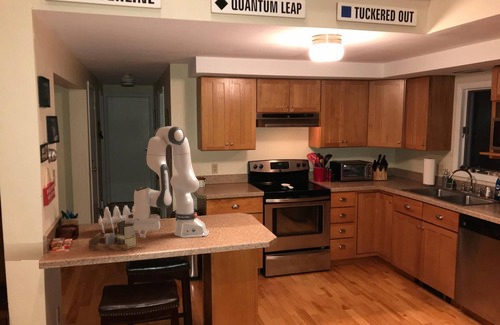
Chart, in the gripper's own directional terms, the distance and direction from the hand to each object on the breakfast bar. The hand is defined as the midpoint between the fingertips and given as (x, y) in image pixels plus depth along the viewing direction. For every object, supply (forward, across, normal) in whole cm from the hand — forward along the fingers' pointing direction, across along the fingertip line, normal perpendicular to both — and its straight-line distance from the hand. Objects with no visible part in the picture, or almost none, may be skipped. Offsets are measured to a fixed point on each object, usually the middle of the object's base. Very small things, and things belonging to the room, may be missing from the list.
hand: (142, 237), depth 232 cm
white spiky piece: (+5, +24, -31) cm, 39 cm away
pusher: (+5, +20, 0) cm, 21 cm away
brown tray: (+5, +18, 0) cm, 19 cm away
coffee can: (+5, +10, 0) cm, 11 cm away
